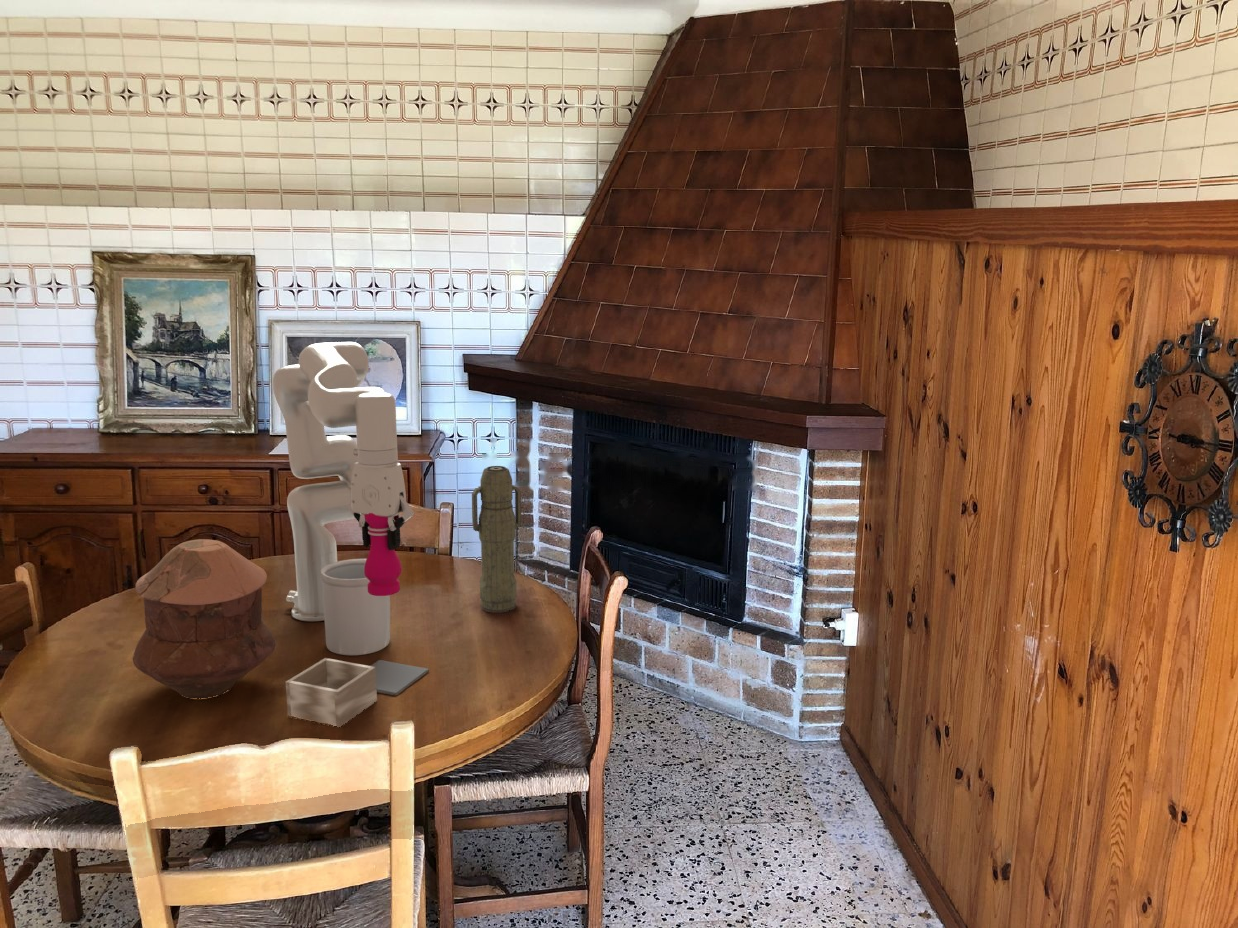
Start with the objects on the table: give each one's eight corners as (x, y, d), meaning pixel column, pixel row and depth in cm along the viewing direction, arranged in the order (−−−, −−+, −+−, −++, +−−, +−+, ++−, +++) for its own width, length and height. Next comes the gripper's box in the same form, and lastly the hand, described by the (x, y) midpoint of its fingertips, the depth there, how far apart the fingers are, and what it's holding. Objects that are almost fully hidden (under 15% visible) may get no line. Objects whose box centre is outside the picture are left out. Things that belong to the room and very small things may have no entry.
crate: (287, 716, 177) (285, 681, 175) (327, 690, 187) (325, 657, 186) (339, 727, 173) (337, 692, 171) (377, 700, 183) (375, 666, 182)
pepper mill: (409, 587, 191) (405, 491, 187) (389, 599, 184) (384, 499, 180) (378, 583, 193) (373, 488, 189) (357, 594, 187) (352, 496, 183)
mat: (344, 685, 190) (344, 682, 189) (379, 662, 201) (379, 659, 200) (396, 695, 186) (395, 692, 185) (428, 671, 197) (428, 668, 196)
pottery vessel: (133, 676, 193) (118, 535, 186) (265, 652, 205) (256, 519, 198) (141, 731, 170) (124, 573, 164) (288, 701, 183) (278, 552, 176)
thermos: (528, 607, 233) (526, 469, 225) (483, 616, 227) (480, 474, 219) (513, 596, 240) (511, 462, 233) (469, 604, 234) (466, 466, 227)
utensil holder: (371, 625, 221) (368, 553, 217) (406, 644, 210) (403, 568, 207) (312, 642, 211) (307, 567, 207) (346, 663, 200) (341, 584, 196)
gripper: (328, 456, 183) (333, 546, 186) (404, 464, 177) (408, 557, 181) (352, 449, 189) (356, 536, 193) (426, 456, 184) (429, 546, 188)
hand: (381, 545), depth 187 cm, fingers closed on pepper mill, 5 cm apart
